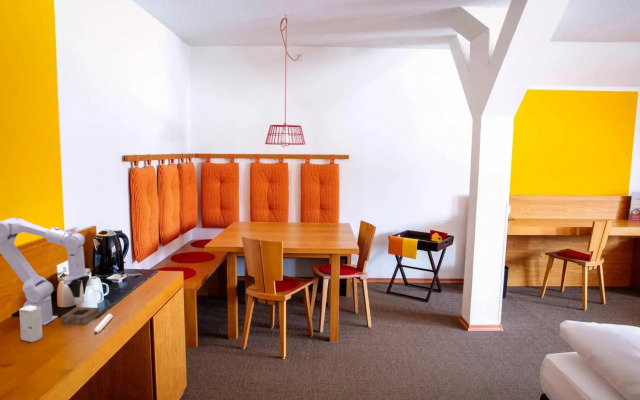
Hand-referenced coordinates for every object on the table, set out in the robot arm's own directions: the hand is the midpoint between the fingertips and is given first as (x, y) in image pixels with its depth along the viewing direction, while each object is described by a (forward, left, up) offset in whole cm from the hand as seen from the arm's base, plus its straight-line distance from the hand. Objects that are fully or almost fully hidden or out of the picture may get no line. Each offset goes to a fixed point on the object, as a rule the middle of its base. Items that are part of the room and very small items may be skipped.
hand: (79, 295), depth 175 cm
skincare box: (-8, -18, -11) cm, 22 cm away
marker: (+12, -6, -11) cm, 17 cm away
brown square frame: (0, 0, -10) cm, 10 cm away
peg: (0, 0, -3) cm, 3 cm away
